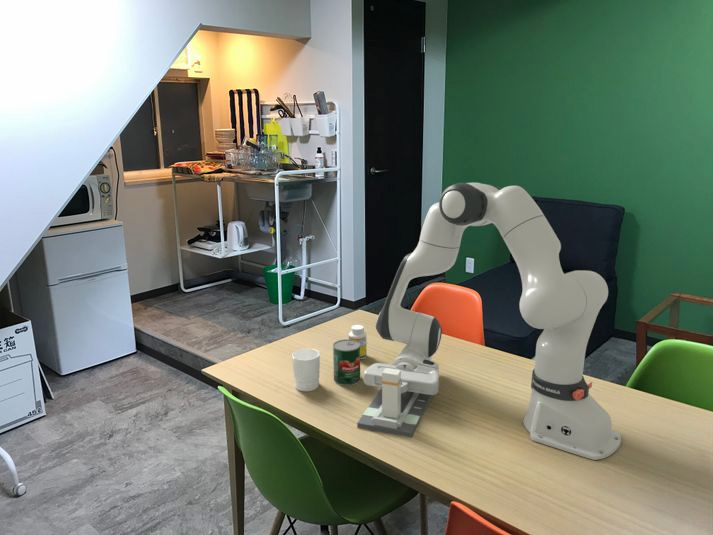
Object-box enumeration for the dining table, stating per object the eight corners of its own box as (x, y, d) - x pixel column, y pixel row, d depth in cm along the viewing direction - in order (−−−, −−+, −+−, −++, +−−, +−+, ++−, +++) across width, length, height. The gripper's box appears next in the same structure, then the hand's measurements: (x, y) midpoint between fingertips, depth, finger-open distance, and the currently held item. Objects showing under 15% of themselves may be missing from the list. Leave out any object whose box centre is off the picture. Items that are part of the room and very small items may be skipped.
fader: (400, 412, 147) (401, 369, 144) (397, 418, 145) (397, 375, 141) (385, 410, 149) (385, 367, 145) (381, 415, 146) (381, 372, 143)
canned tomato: (348, 388, 164) (347, 352, 161) (328, 380, 169) (327, 345, 166) (366, 378, 170) (365, 343, 167) (346, 370, 175) (345, 337, 172)
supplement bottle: (346, 355, 185) (345, 325, 182) (361, 352, 188) (361, 322, 185) (354, 362, 180) (353, 331, 178) (369, 358, 183) (369, 328, 180)
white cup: (319, 392, 161) (318, 360, 159) (291, 392, 162) (290, 360, 159) (321, 379, 169) (320, 348, 166) (295, 379, 169) (293, 348, 167)
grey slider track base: (434, 392, 161) (434, 382, 160) (411, 437, 139) (411, 426, 138) (386, 384, 166) (386, 375, 165) (357, 427, 144) (357, 416, 143)
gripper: (372, 354, 162) (354, 375, 149) (444, 364, 155) (432, 387, 142) (372, 374, 163) (355, 397, 151) (443, 385, 157) (431, 410, 144)
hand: (393, 392), depth 147 cm, fingers closed, pressing on fader
